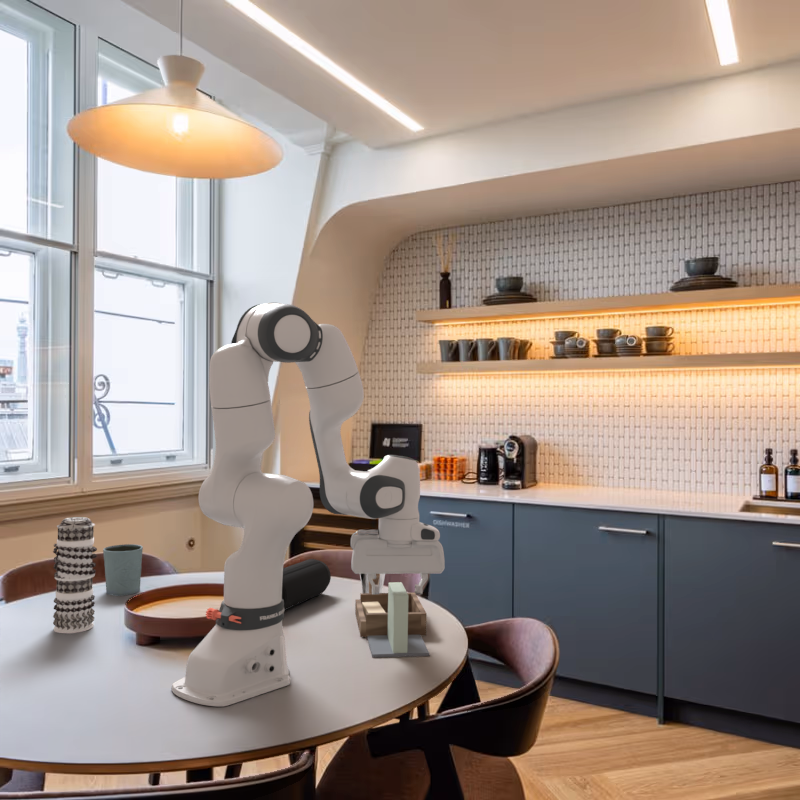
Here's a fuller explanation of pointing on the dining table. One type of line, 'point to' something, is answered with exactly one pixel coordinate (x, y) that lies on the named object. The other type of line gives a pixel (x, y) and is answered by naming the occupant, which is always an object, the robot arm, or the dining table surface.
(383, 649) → the slate mat
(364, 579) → the beer glass
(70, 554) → the decorative candle
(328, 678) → the dining table surface
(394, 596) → the sage panel
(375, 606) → the offcut top
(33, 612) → the dining table surface
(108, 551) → the green cup
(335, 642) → the dining table surface
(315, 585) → the portable speaker
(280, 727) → the dining table surface
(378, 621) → the open wooden box
